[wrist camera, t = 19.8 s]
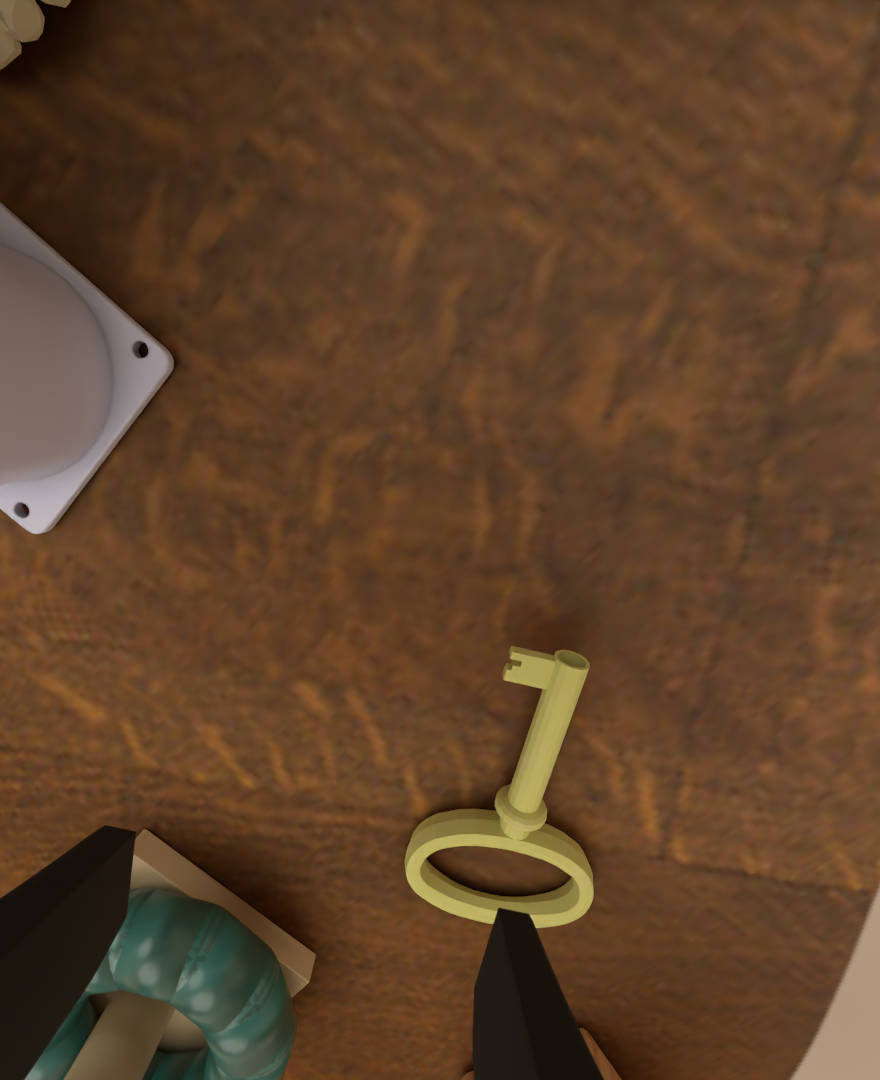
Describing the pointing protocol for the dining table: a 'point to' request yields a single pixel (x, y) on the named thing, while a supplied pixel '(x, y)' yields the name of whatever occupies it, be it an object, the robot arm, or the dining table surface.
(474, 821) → the key
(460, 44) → the dining table surface
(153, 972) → the ring
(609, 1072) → the decorative item
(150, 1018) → the post stand
